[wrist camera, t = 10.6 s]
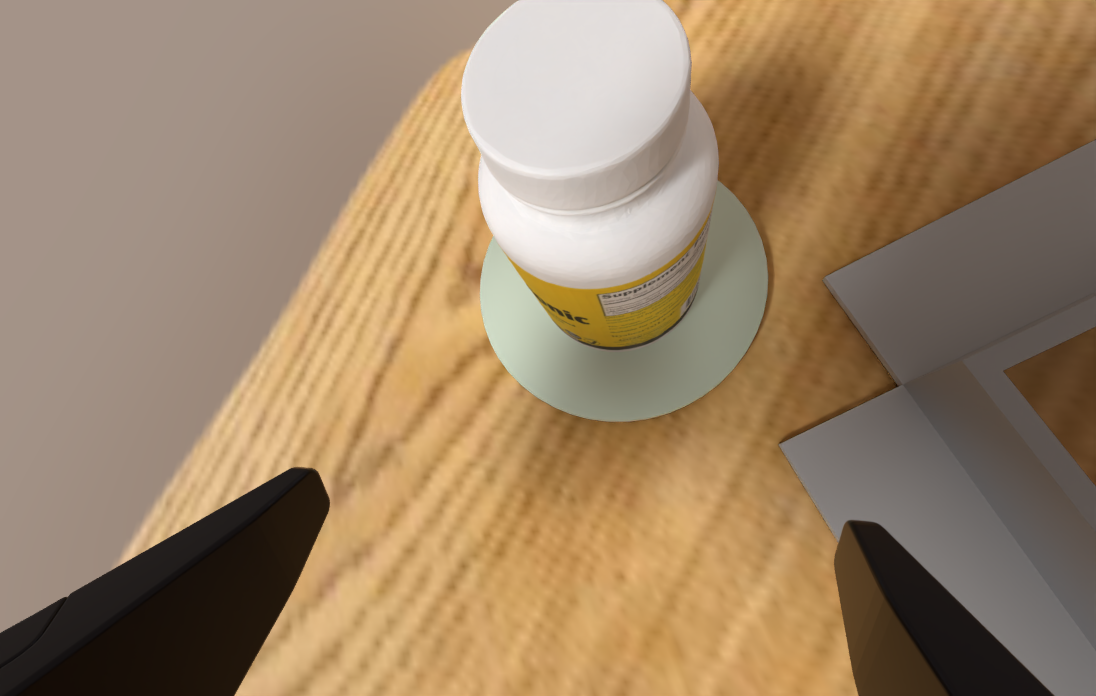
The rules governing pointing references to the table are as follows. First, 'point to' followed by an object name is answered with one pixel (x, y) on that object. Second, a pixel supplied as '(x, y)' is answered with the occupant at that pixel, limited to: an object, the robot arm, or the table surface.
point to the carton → (977, 414)
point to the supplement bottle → (595, 163)
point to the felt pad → (647, 373)
